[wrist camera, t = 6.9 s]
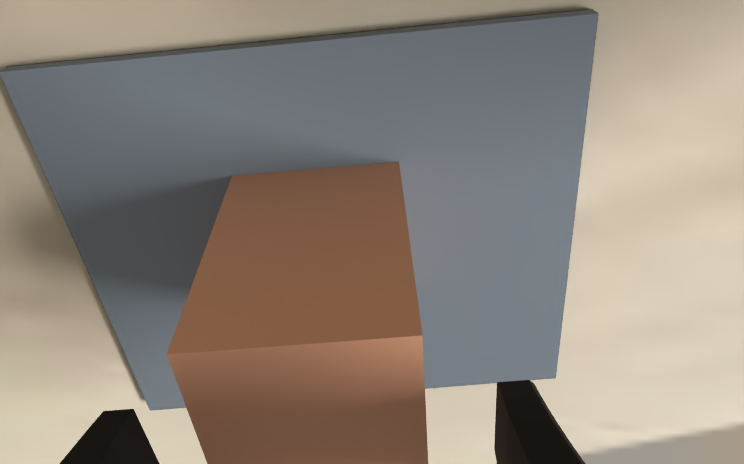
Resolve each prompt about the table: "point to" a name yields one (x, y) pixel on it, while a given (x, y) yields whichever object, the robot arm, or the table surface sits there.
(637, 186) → the table surface
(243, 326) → the terracotta block
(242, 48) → the slate mat
